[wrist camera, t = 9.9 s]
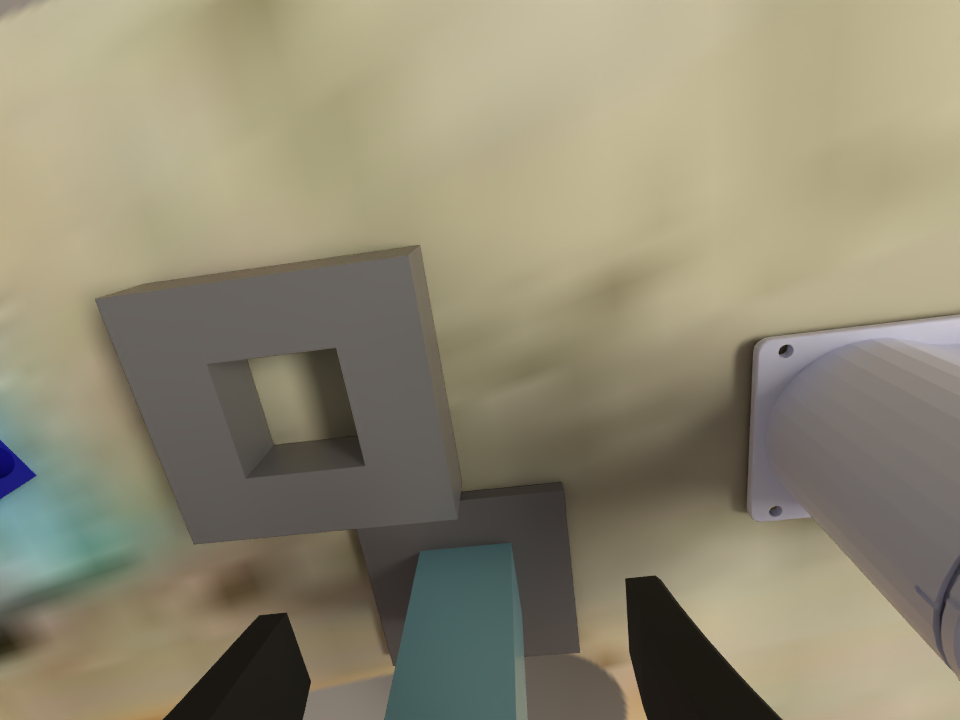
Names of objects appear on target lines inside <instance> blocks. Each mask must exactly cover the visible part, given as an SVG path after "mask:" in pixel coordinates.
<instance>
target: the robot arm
mask: <svg viewBox="0 0 960 720" xmlns="http://www.w3.org/2000/svg"><path fill="white" fill-rule="evenodd" d="M786 344H787V345H788V348H787V351H786V352H785V353H783V354H780V355H779V353H778V352H779V349H780V348H781V347H782V346H783V345H786ZM774 506H777V508H775V509H774V510H772V511H769V510H770V509H771V508H772V507H774ZM747 512H748V514H749V515H750V516H751V518H752V519H753V520H755V521H758V522H765V521H776V520H788V519H799V518H810V517H812V518H813V519H814V520H815V521H816V522H817V523H818V525H819V526H820V527H821V528H822V529H823V530H824V531H825V532H826V533H827V534H828V535H829V537H830V538H831V539H832V540H833V541H834V542H835V543H836V544H837V545H838V546H839V548H840V549H841V550H842V551H843V552H844V553H845V554H846V555H847V556H848V557H849V558H850V560H851V561H852V562H853V563H854V564H855V565H856V566H857V567H858V568H859V569H860V571H861V572H862V573H863V574H864V575H865V576H866V577H867V578H868V579H869V580H870V581H871V583H872V584H873V585H874V586H875V587H876V588H877V589H878V590H879V591H880V592H881V594H882V595H883V596H884V597H885V598H886V599H887V600H888V601H889V602H890V603H891V604H892V606H893V607H894V608H895V609H896V610H897V611H898V612H899V613H900V614H901V615H902V617H903V618H904V619H905V620H906V621H907V622H908V623H909V624H910V625H911V626H912V627H913V629H914V630H915V631H916V632H917V633H918V634H919V635H920V636H921V637H922V638H923V640H924V641H925V642H926V643H927V644H928V645H929V646H930V647H931V648H932V649H933V650H934V652H935V653H936V654H937V655H938V656H939V657H940V658H941V659H942V660H943V661H944V663H945V664H946V665H947V666H948V667H949V668H950V669H951V670H952V671H953V672H954V673H955V674H956V676H957V677H958V679H959V681H960V314H958V315H950V316H941V317H933V318H925V319H916V320H908V321H899V322H891V323H882V324H874V325H866V326H857V327H849V328H840V329H832V330H823V331H815V332H807V333H798V334H790V335H781V336H773V337H766V338H763V339H761V340H760V341H758V342H757V344H756V345H755V346H754V350H753V368H752V392H751V416H750V440H749V464H748V489H747ZM625 581H626V599H627V617H628V635H629V652H630V656H631V660H632V664H633V668H634V673H635V677H636V681H637V684H638V688H639V692H640V696H641V700H642V704H643V708H644V710H645V713H646V716H647V719H648V720H782V719H781V718H780V717H779V716H778V715H777V714H776V713H775V712H774V711H773V710H772V708H771V707H770V706H769V705H768V704H767V703H766V702H765V701H764V700H763V699H762V698H761V697H760V696H759V695H758V694H757V693H756V692H755V691H754V690H753V689H752V688H751V687H750V686H749V685H748V684H747V683H746V681H745V680H744V679H743V678H742V677H741V676H740V675H739V674H738V673H737V672H736V671H735V669H734V668H733V667H732V666H731V665H730V664H729V663H728V662H727V661H726V659H725V658H724V657H723V656H722V655H721V654H720V653H719V652H718V650H717V649H716V648H715V647H714V646H713V645H712V644H711V642H710V641H709V640H708V639H707V638H706V637H705V635H704V634H703V633H702V632H701V631H700V629H699V628H698V627H697V626H696V625H695V623H694V622H693V621H692V620H691V618H690V617H689V616H688V615H687V614H686V612H685V611H684V610H683V609H682V607H681V606H680V605H679V603H678V602H677V601H676V600H675V598H674V597H673V596H672V594H671V593H670V592H669V590H668V589H667V588H666V586H665V585H664V583H663V582H662V581H661V579H659V578H658V577H657V576H646V577H636V578H626V579H625ZM310 684H311V681H310V678H309V675H308V672H307V669H306V666H305V663H304V661H303V658H302V655H301V652H300V649H299V646H298V643H297V641H296V638H295V635H294V632H293V629H292V626H291V624H290V621H289V618H288V615H287V613H278V614H269V615H259V616H258V617H257V618H256V620H255V621H254V622H253V623H252V624H251V625H250V626H249V627H248V628H247V629H246V630H245V631H244V632H243V633H242V634H241V636H240V637H239V638H238V639H237V640H236V641H235V642H234V643H233V644H232V645H231V647H230V648H229V649H228V650H227V651H226V652H225V653H224V654H223V655H222V656H221V658H220V659H219V660H218V661H217V662H216V663H215V664H214V665H213V666H212V667H211V669H210V670H209V671H208V672H207V673H206V674H205V675H204V676H203V677H202V678H201V679H200V680H199V682H198V683H197V684H196V685H195V686H194V687H193V688H192V689H191V690H190V691H189V692H188V693H187V695H186V696H185V697H184V698H183V699H182V700H181V701H180V702H179V703H178V704H177V705H176V706H175V707H174V709H173V710H172V711H171V712H170V713H169V714H168V715H167V716H166V717H165V718H164V719H163V720H302V719H303V715H304V711H305V707H306V702H307V698H308V693H309V688H310Z"/></svg>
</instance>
